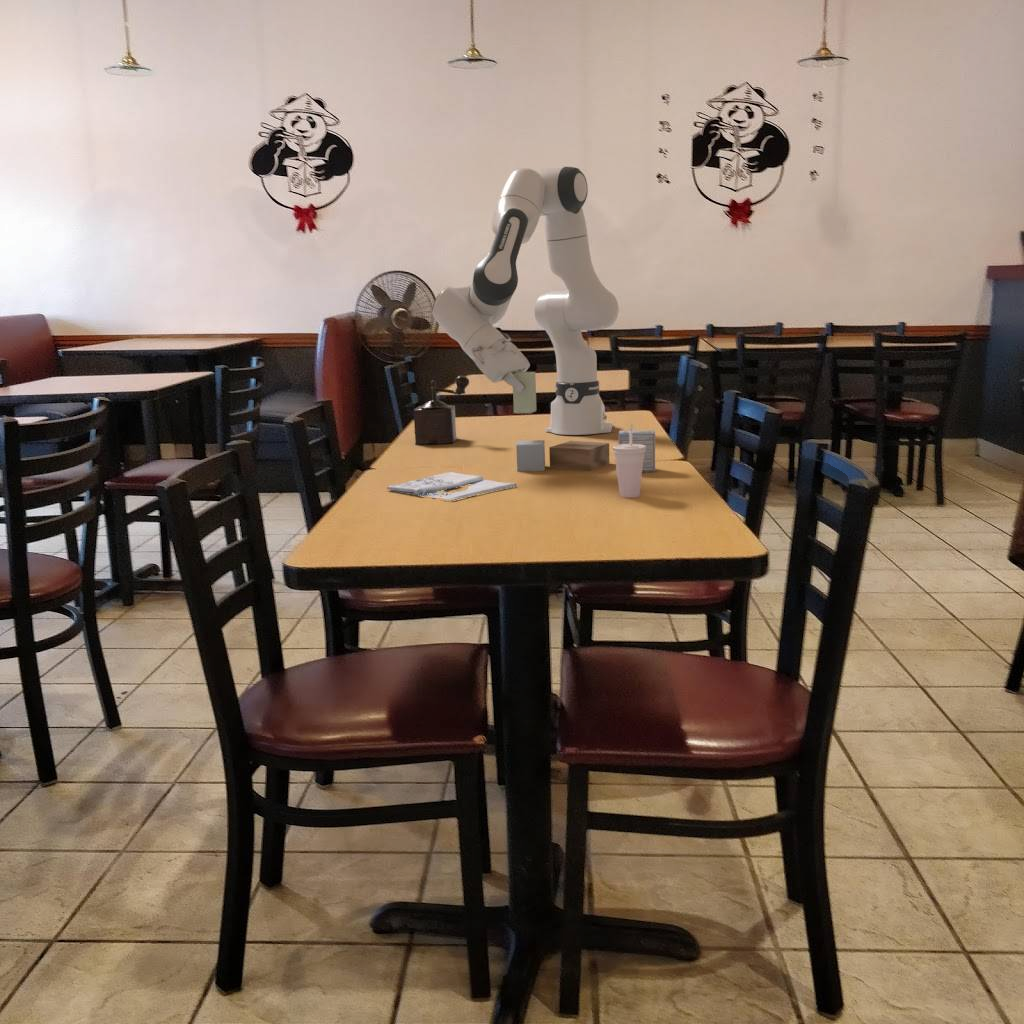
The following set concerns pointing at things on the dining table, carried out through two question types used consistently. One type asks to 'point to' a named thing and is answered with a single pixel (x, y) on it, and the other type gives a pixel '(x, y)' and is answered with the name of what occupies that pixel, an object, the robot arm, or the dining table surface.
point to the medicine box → (645, 439)
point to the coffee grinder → (437, 417)
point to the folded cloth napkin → (449, 486)
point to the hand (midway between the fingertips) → (527, 388)
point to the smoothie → (629, 467)
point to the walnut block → (579, 455)
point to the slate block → (530, 455)
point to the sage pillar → (525, 393)
